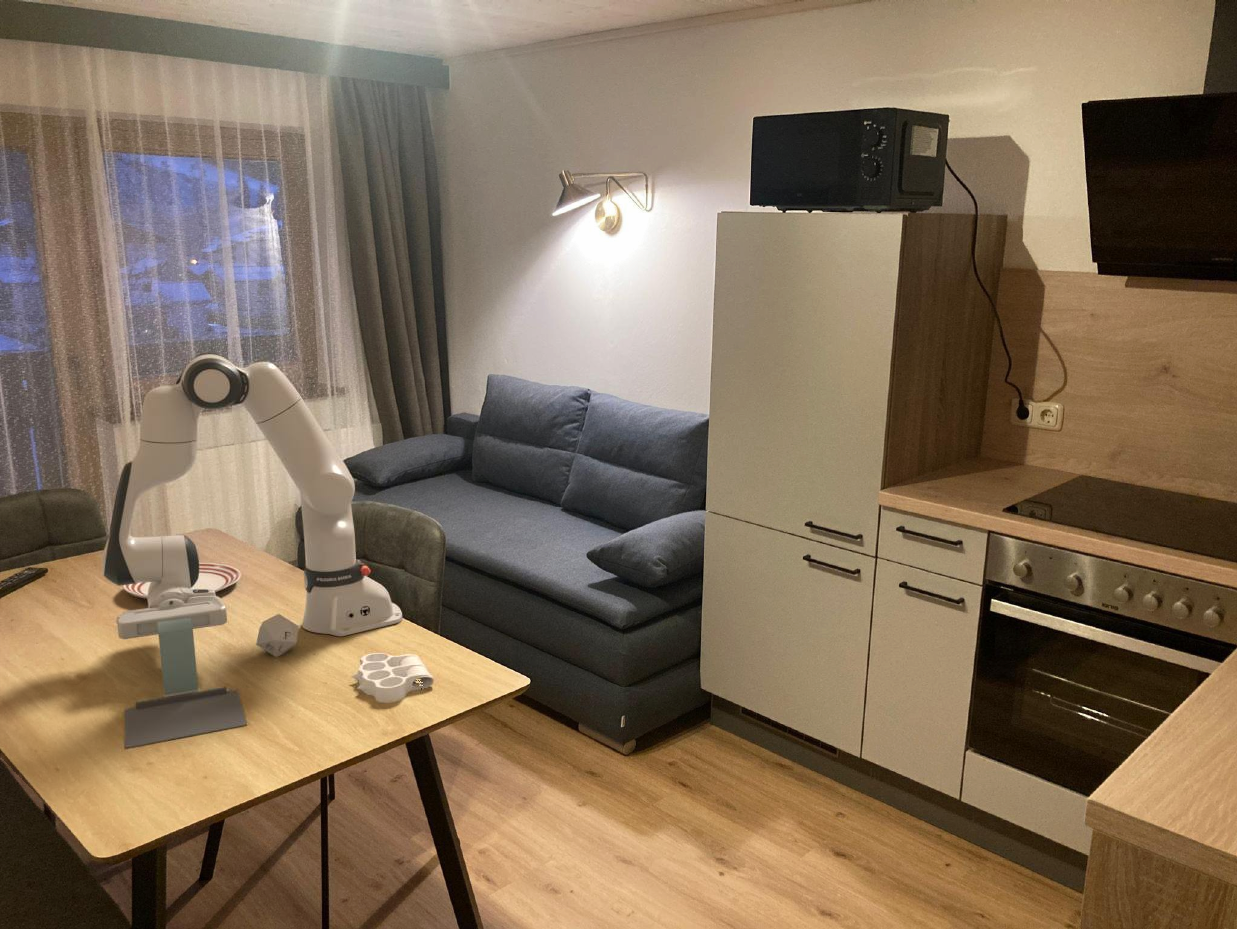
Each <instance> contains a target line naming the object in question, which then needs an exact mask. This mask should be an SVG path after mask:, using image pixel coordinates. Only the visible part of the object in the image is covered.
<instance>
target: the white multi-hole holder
mask: <svg viewBox="0 0 1237 929" xmlns="http://www.w3.org/2000/svg"><path fill="white" fill-rule="evenodd" d="M359 664H360V665H359V666H358V671H357V672H356V673H354V674H352V675H351V676H350V677H351V678H353V679H355V680H356V681H358V685H359V686H358V687H356V689H357V690H361V691H362V692H363V693H365V694H366V695H370V696H373V697H374V698H375V702H379V703H385V704H386V703H387V704H388V703H389V704H390V703H395V702H398V701H401V700H403V699H405V698H406V695H407V694H408V693H410V692H412V691H416V690H424V688H425V689H427V688H430V687H431V686H433V684H434V682H435V680H434V676H433V675H431V674H430V672H429V671H428V669H427V666H426V665H424V663H423V661H422V660H421V658H420V656H419V655H416V654H413V653H412V654H406V653H405V654H401V655H390V654H388V653H385V652H372V653H368V654H365V655H363V656H362V657H361V658H360V660H359ZM416 679H421V680H420V681H421V682H423V683H420V684H421V685H423V686H419V685H420V684H419V683H416V682H415V681H417V680H416ZM418 681H419V680H418ZM420 681H419V682H420ZM421 688H422V689H421Z"/></svg>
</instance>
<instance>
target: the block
mask: <svg viewBox="0 0 1237 929" xmlns="http://www.w3.org/2000/svg"><path fill="white" fill-rule="evenodd" d="M157 625H158V634H157V635H158V643H159V644H158V645H159V653H160V663H161V673H162V674H161V675H162V684H163V694H164V697H169V696H175V695H181V694H186V693H192V692H198V691H199V683H198V674H197V673H198V672H197V671H198V670H197V660H196V659H197V658H196V648H195V637H194V636H195V635H194V629H193V626H192V621H191V617H188V618H182V619H175V620H168V621H161V622H157Z"/></svg>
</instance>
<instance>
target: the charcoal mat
mask: <svg viewBox="0 0 1237 929" xmlns="http://www.w3.org/2000/svg"><path fill="white" fill-rule="evenodd" d="M245 726H248V723H247V720H246V715H245V713H244V709H243V705H242V702H241V697H240V693H239V690H238V689H232V690H228V689H227V686H222V687H216V688H211V689H205V690H200V691H199V690H198V692H192V693H186V694H181V695H175V696H169V697H165V696H164V697H159V698H151V699H146V700H143V701H136V702H135V707H130V708H125V709H124V743H125V744H124V748H125V749H126V750H127V749H132V748H136V747H142V746H146V745H151V744H153V745H154V744H157V743H162V742H167V741H172V740H173V741H174V740H177V739H184V738H189V737H194V736H199V735H204V734H209V733H214V732H219V731H224V730H231V729H236V728H240V727H245Z"/></svg>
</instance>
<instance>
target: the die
mask: <svg viewBox="0 0 1237 929" xmlns="http://www.w3.org/2000/svg"><path fill="white" fill-rule="evenodd" d="M298 633H299V625H298V624H297V623H294V622H293V621H291V619H288V618H286V617H285V616H284V615H281V614H280V613H277V614H275V615H273V616H271V617H269V618H268V619H265V620H264V621H262V622H261V625H260V626H259V629H258V634H257V639H256V643H255V645H256V646H257V647H259V648H261V649H262V650H264V651H265V652H268V653H269V654H270V655H271V656H273V657H275V658H278V657H280V656H282V655H284V654H285V653H287V652H289V651H290V650H293V648H294V646H296V643H297V640H298Z"/></svg>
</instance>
